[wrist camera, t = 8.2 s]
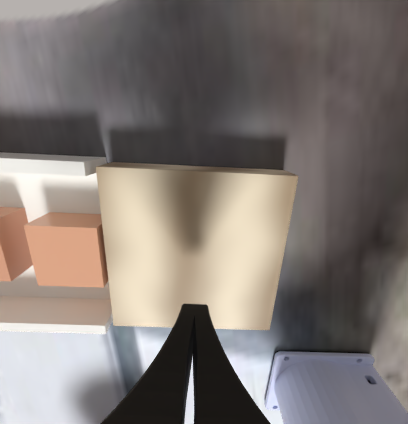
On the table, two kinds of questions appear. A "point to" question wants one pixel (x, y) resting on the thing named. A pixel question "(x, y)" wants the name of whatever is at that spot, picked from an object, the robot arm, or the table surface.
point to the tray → (26, 282)
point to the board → (194, 241)
